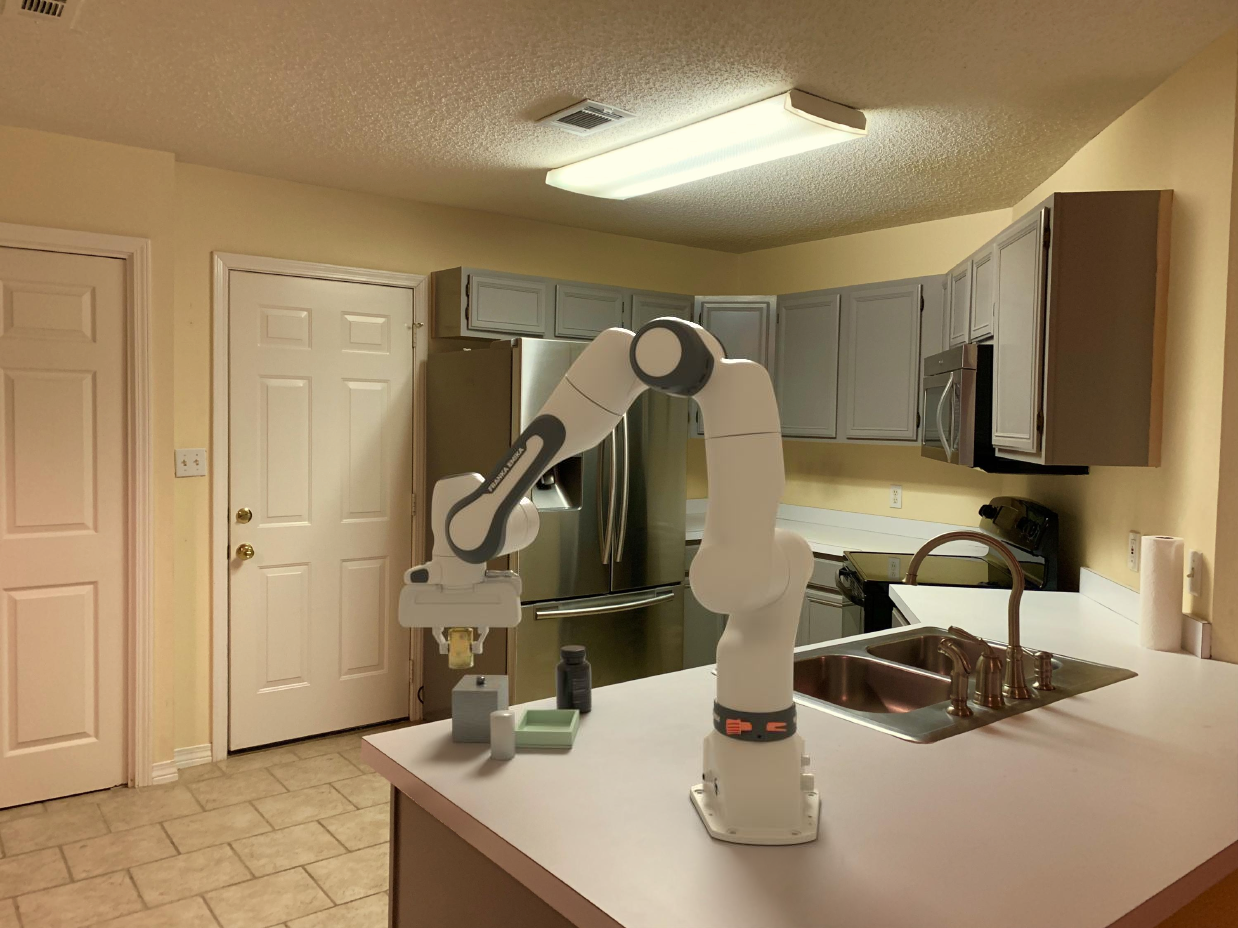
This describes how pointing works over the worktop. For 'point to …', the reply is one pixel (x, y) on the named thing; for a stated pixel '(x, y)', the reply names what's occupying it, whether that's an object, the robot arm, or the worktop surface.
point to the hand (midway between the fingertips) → (461, 653)
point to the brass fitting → (460, 647)
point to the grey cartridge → (502, 734)
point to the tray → (547, 728)
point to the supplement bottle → (573, 680)
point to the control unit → (477, 706)
